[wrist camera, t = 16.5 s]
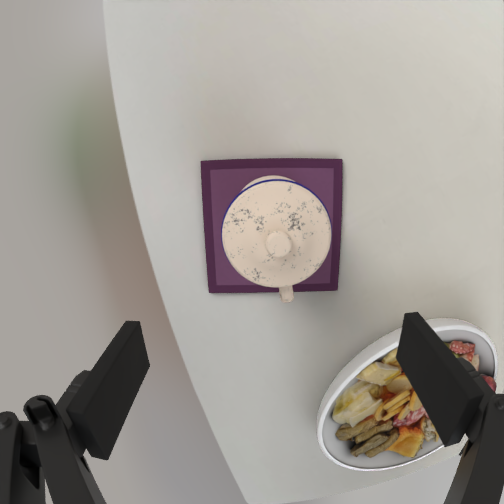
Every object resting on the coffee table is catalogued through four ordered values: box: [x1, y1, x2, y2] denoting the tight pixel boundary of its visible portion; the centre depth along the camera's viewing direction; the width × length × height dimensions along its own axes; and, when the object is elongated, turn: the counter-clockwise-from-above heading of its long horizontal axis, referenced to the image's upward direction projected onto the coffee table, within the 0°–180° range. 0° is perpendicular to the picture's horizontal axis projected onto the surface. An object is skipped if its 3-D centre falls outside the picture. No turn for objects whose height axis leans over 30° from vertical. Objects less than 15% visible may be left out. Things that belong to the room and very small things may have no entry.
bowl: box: [316, 318, 498, 471], centre depth 38 cm, size 30×30×8 cm
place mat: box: [201, 158, 342, 293], centre depth 35 cm, size 15×15×1 cm
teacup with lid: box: [221, 175, 332, 303], centre depth 29 cm, size 12×9×12 cm
